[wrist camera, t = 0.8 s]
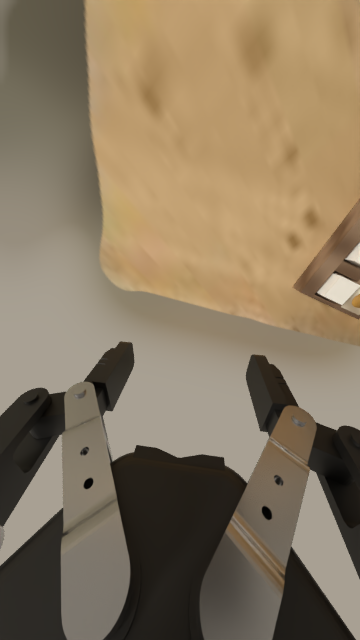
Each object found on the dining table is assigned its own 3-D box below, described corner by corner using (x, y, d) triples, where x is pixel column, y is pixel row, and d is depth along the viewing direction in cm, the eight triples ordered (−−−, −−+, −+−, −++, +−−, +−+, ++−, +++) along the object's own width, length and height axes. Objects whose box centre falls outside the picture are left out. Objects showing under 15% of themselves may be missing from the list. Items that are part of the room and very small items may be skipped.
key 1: (330, 272, 29) (341, 276, 27) (349, 281, 30) (360, 285, 27) (314, 291, 31) (323, 296, 29) (332, 299, 31) (342, 305, 29)
